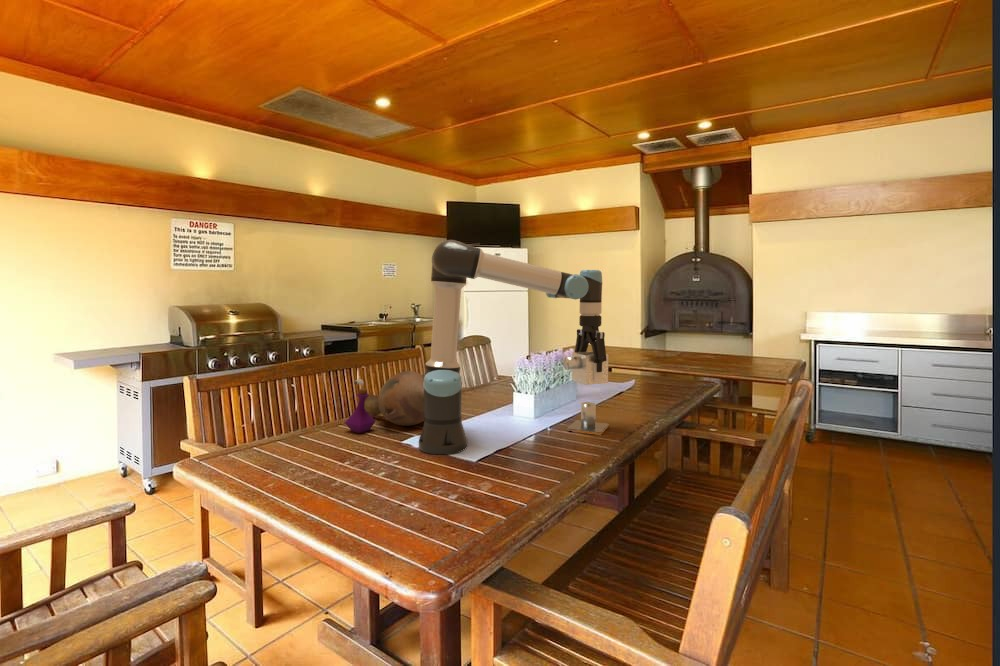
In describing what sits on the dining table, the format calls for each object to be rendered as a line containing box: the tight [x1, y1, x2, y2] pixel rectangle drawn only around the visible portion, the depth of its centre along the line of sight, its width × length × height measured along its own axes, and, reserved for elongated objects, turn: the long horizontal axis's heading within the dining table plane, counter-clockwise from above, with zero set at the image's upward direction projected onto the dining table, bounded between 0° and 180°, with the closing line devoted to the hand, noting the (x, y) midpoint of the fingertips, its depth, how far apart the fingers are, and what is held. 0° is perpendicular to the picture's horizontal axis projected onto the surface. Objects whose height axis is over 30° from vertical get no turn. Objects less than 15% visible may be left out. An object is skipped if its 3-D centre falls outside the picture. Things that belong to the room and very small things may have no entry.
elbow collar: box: [562, 350, 609, 386], centre depth 178 cm, size 14×9×10 cm, turn 113°
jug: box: [364, 370, 425, 427], centre depth 188 cm, size 20×20×30 cm
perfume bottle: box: [344, 378, 376, 434], centre depth 177 cm, size 8×8×18 cm
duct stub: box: [566, 401, 610, 433], centre depth 181 cm, size 12×12×9 cm
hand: (589, 378), depth 180 cm, fingers closed on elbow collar, 9 cm apart
